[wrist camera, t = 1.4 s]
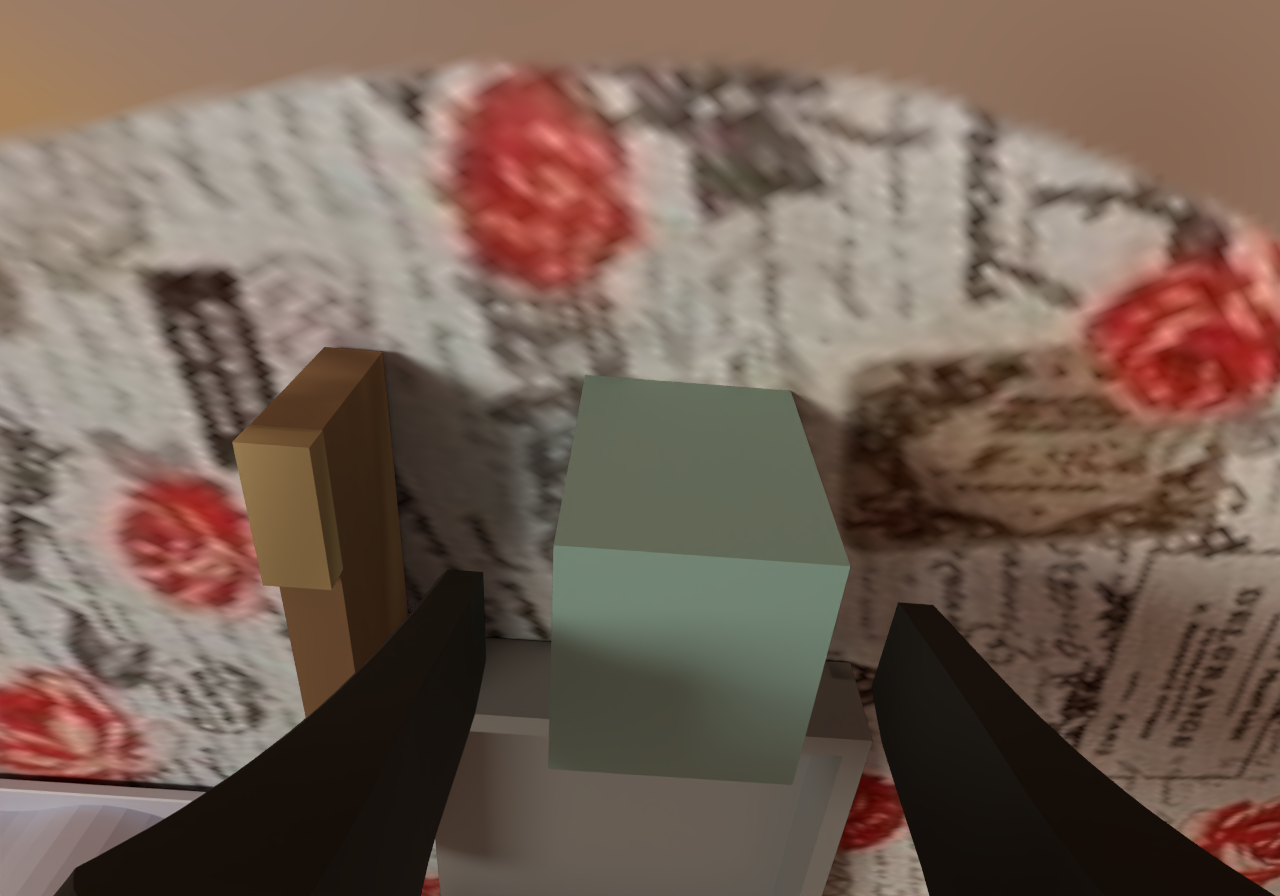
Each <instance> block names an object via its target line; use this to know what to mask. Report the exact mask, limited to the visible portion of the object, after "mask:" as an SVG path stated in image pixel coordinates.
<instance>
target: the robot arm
mask: <svg viewBox="0 0 1280 896" xmlns="http://www.w3.org/2000/svg"><path fill="white" fill-rule="evenodd" d="M485 662H486V640H485V611H484V581H483V572H473V571H459V570H447V571H446V572H444V573H443V574H442V575H441V576H440V577H439V579H438V580H437V581H436V582H435V584H434V585H433V586H432V588H431V589H430V590H429V591H428V593H427V594H426V595H425V596H424V598H423V599H422V600H421V601H420V602H419V604H418V605H417V606H416V607H415V608H414V610H413V611H412V612H411V613H410V614H409V615H408V617H407V618H406V619H405V620H404V621H403V622H402V624H401V625H400V626H399V627H398V628H397V629H396V630H395V631H394V632H393V634H392V635H391V636H390V637H389V638H388V639H387V640H386V641H385V642H384V643H383V644H382V646H381V647H380V648H379V649H378V650H377V651H376V652H375V653H374V654H373V655H372V656H371V657H370V658H369V659H368V660H367V661H366V662H365V663H364V664H363V665H362V666H361V667H360V668H359V669H358V670H357V671H356V672H355V673H354V674H353V675H352V676H351V677H350V678H349V679H348V680H347V681H346V682H345V683H344V684H343V685H342V686H341V687H340V688H339V689H338V690H337V691H336V692H335V693H334V694H333V695H331V696H330V697H329V698H328V699H327V700H326V701H325V702H324V703H323V704H322V705H320V706H319V707H318V708H317V709H316V710H315V711H314V712H312V713H311V714H310V715H309V716H308V717H307V718H305V719H304V720H303V721H302V722H301V723H299V724H298V725H297V726H296V727H295V728H293V729H292V730H291V731H290V732H289V733H287V734H286V735H285V736H284V737H282V738H281V739H280V740H278V741H277V742H276V743H274V744H273V745H272V746H271V747H269V748H268V749H267V750H265V751H264V752H263V753H261V754H260V755H259V756H257V757H256V758H255V759H254V760H252V761H251V762H250V763H248V764H247V765H245V766H244V767H243V768H241V769H240V770H238V771H237V772H236V773H234V774H233V775H231V776H230V777H228V778H227V779H226V780H224V781H222V782H221V783H219V784H218V785H216V786H215V787H213V788H212V789H210V790H209V791H207V792H200V791H185V790H169V789H154V788H138V787H123V786H108V785H92V784H77V783H61V782H46V781H31V780H15V779H0V896H421V892H422V888H423V884H424V879H425V875H426V870H427V866H428V862H429V858H430V855H431V851H432V847H433V844H434V840H435V837H436V833H437V830H438V827H439V824H440V821H441V818H442V815H443V812H444V809H445V806H446V803H447V800H448V797H449V794H450V791H451V787H452V784H453V781H454V778H455V775H456V772H457V769H458V766H459V763H460V760H461V757H462V754H463V751H464V747H465V744H466V741H467V738H468V735H469V732H470V729H471V726H472V722H473V719H474V716H475V712H476V708H477V703H478V698H479V693H480V688H481V683H482V678H483V673H484V668H485ZM872 691H873V697H874V703H875V709H876V715H877V720H878V725H879V730H880V736H881V741H882V745H883V748H884V751H885V754H886V758H887V761H888V764H889V767H890V770H891V774H892V777H893V780H894V783H895V786H896V790H897V793H898V796H899V799H900V802H901V805H902V808H903V811H904V814H905V817H906V821H907V824H908V827H909V830H910V833H911V836H912V839H913V842H914V845H915V848H916V852H917V855H918V858H919V861H920V864H921V867H922V871H923V874H924V878H925V881H926V885H927V889H928V892H929V896H1275V895H1273V894H1271V893H1270V892H1268V891H1267V890H1265V889H1264V888H1262V887H1261V886H1259V885H1257V884H1256V883H1254V882H1253V881H1251V880H1250V879H1248V878H1246V877H1245V876H1243V875H1242V874H1240V873H1239V872H1237V871H1235V870H1234V869H1232V868H1231V867H1229V866H1228V865H1226V864H1225V863H1223V862H1222V861H1220V860H1219V859H1217V858H1216V857H1214V856H1213V855H1211V854H1210V853H1208V852H1207V851H1205V850H1204V849H1202V848H1201V847H1199V846H1198V845H1197V844H1195V843H1194V842H1192V841H1191V840H1190V839H1188V838H1187V837H1185V836H1184V835H1183V834H1181V833H1180V832H1178V831H1177V830H1176V829H1174V828H1173V827H1172V826H1170V825H1169V824H1167V823H1166V822H1165V821H1163V820H1162V819H1161V818H1159V817H1158V816H1156V815H1155V814H1154V813H1152V812H1151V811H1150V810H1148V809H1147V808H1146V807H1144V806H1143V805H1142V804H1141V803H1139V802H1138V801H1137V800H1135V799H1134V798H1133V797H1131V796H1130V795H1129V794H1128V793H1126V792H1125V791H1124V790H1123V789H1122V788H1120V787H1119V786H1118V785H1117V784H1115V783H1114V782H1113V781H1112V780H1111V779H1109V778H1108V777H1107V776H1106V775H1105V774H1103V773H1102V772H1101V771H1100V770H1098V769H1097V768H1096V767H1095V766H1094V765H1092V764H1091V763H1090V762H1089V761H1088V760H1087V759H1085V758H1084V757H1083V756H1082V755H1081V754H1080V753H1079V752H1077V751H1076V750H1075V749H1074V748H1073V747H1072V746H1071V745H1070V744H1069V743H1067V742H1066V741H1065V740H1064V739H1063V738H1062V737H1061V736H1060V735H1059V734H1058V733H1057V732H1056V731H1055V730H1054V729H1052V728H1051V727H1050V726H1049V725H1048V724H1047V723H1046V722H1045V721H1044V720H1043V719H1042V718H1041V717H1040V716H1039V715H1038V714H1037V713H1036V712H1035V711H1034V710H1033V709H1031V708H1030V707H1029V706H1028V705H1027V704H1026V703H1025V702H1024V701H1023V700H1022V699H1021V698H1020V697H1019V696H1018V695H1017V694H1016V693H1015V692H1014V691H1013V689H1012V688H1011V687H1010V686H1009V685H1008V684H1007V683H1006V682H1005V681H1004V680H1003V679H1002V678H1001V677H1000V676H999V675H998V674H997V673H996V672H995V671H994V670H993V669H992V668H991V667H990V665H989V664H988V663H987V662H986V661H985V660H984V659H983V658H982V657H981V656H980V655H979V654H978V653H977V652H976V650H975V649H974V648H973V647H972V646H971V645H970V644H969V643H968V642H967V641H966V640H965V639H964V637H963V636H962V635H961V634H960V633H959V632H958V631H957V630H956V629H955V628H954V627H953V626H952V624H951V623H950V622H949V621H948V620H947V619H946V618H945V617H944V616H943V615H942V614H941V613H940V612H939V611H938V610H937V609H936V608H935V607H934V606H933V605H925V604H911V603H898V605H897V608H896V611H895V614H894V617H893V621H892V624H891V627H890V630H889V633H888V636H887V640H886V643H885V646H884V649H883V652H882V656H881V659H880V662H879V665H878V668H877V671H876V675H875V678H874V681H873V684H872Z"/></svg>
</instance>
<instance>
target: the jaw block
mask: <svg viewBox="0 0 1280 896" xmlns="http://www.w3.org/2000/svg"><path fill="white" fill-rule="evenodd" d="M849 570H850V564H849V561H848V558H847V555H846V552H845V549H844V546H843V543H842V540H841V537H840V534H839V531H838V528H837V525H836V523H835V520H834V517H833V514H832V511H831V508H830V505H829V502H828V499H827V496H826V493H825V490H824V487H823V484H822V482H821V479H820V476H819V473H818V470H817V467H816V464H815V461H814V458H813V455H812V452H811V449H810V446H809V443H808V441H807V438H806V435H805V432H804V429H803V426H802V423H801V420H800V417H799V414H798V411H797V408H796V405H795V402H794V400H793V397H792V394H791V391H787V390H774V389H761V388H748V387H735V386H722V385H709V384H696V383H683V382H670V381H657V380H644V379H631V378H618V377H605V376H592V375H585V380H584V385H583V391H582V396H581V401H580V407H579V412H578V417H577V423H576V428H575V433H574V439H573V444H572V450H571V455H570V460H569V466H568V471H567V476H566V482H565V487H564V492H563V498H562V503H561V508H560V514H559V519H558V524H557V530H556V535H555V540H554V549H553V590H552V630H551V671H550V712H549V752H548V769H553V770H568V771H584V772H599V773H614V774H630V775H645V776H661V777H676V778H692V779H707V780H723V781H738V782H753V783H769V784H784V785H792V784H793V781H794V777H795V773H796V769H797V766H798V762H799V758H800V754H801V751H802V747H803V743H804V739H805V735H806V732H807V728H808V724H809V720H810V717H811V713H812V709H813V705H814V702H815V698H816V694H817V690H818V687H819V683H820V679H821V675H822V672H823V668H824V664H825V660H826V657H827V653H828V649H829V645H830V642H831V638H832V634H833V630H834V626H835V623H836V619H837V615H838V611H839V608H840V604H841V600H842V596H843V593H844V589H845V585H846V581H847V578H848V574H849Z"/></svg>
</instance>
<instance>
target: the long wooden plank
mask: <svg viewBox="0 0 1280 896" xmlns="http://www.w3.org/2000/svg"><path fill="white" fill-rule="evenodd" d="M232 443H233V447H234V452H235V457H236V461H237V466H238V471H239V475H240V480H241V485H242V489H243V494H244V499H245V503H246V508H247V513H248V517H249V522H250V527H251V531H252V536H253V541H254V545H255V550H256V555H257V559H258V564H259V569H260V573H261V578H262V583H263V585H266V586H280V591H281V596H282V601H283V606H284V611H285V616H286V621H287V626H288V631H289V636H290V641H291V646H292V651H293V656H294V661H295V666H296V671H297V676H298V681H299V686H300V691H301V696H302V701H303V706H304V711H305V716H306V718H307V717H308V716H309V715H310V714H311V713H312V712H314V711H315V710H316V709H317V708H318V707H319V706H320V705H322V704H323V703H324V702H325V701H326V700H327V699H328V698H329V697H330V696H331V695H333V694H334V693H335V692H336V691H337V690H338V689H339V688H340V687H341V686H342V685H343V684H344V683H345V682H346V681H347V680H348V679H349V678H350V677H351V676H352V675H353V674H354V673H355V672H356V671H357V670H358V669H359V668H360V667H361V666H362V665H363V664H364V663H365V662H366V661H367V660H368V659H369V658H370V657H371V656H372V655H373V654H374V653H375V652H376V651H377V650H378V649H379V648H380V647H381V646H382V644H383V643H384V642H385V641H386V640H387V639H388V638H389V637H390V636H391V635H392V634H393V632H394V631H395V630H396V629H397V628H398V627H399V626H400V625H401V624H402V622H403V621H404V620H405V619H406V618H407V617H408V607H407V596H406V586H405V576H404V566H403V555H402V545H401V535H400V524H399V514H398V504H397V494H396V483H395V473H394V463H393V453H392V442H391V432H390V422H389V411H388V401H387V391H386V381H385V370H384V360H383V352H382V351H369V350H356V349H343V348H330V347H324V348H323V349H322V350H321V351H320V352H319V353H318V354H317V355H316V357H315V358H314V359H313V360H312V361H311V362H310V363H309V364H308V365H307V366H306V367H305V368H304V369H303V370H302V371H301V372H300V373H299V374H298V375H297V376H296V377H295V379H294V380H293V381H292V382H291V383H290V384H289V385H288V386H287V387H286V388H285V389H284V390H283V391H282V392H281V393H280V394H279V395H278V396H277V397H276V398H275V399H274V401H273V402H272V403H271V404H270V405H269V406H268V407H267V408H266V409H265V410H264V411H263V412H262V413H261V414H260V415H259V416H258V417H257V418H256V419H255V420H254V421H253V423H252V424H251V425H248V426H247V427H246V428H245V430H244V431H243V432H242V433H241V434H240V435H239V436H238V437H237V438H236V439H235V440H234V441H233V442H232Z"/></svg>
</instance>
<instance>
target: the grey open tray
mask: <svg viewBox="0 0 1280 896" xmlns="http://www.w3.org/2000/svg"><path fill="white" fill-rule="evenodd" d="M485 640H486V662H485V668H484V673H483V678H482V683H481V688H480V693H479V698H478V703H477V708H476V712H475V716H474V719H473V722H472V726H471V729H470V732H469V735H468V738H467V741H466V744H465V747H464V751H463V754H462V757H461V760H460V763H459V766H458V769H457V772H456V775H455V778H454V781H453V784H452V787H451V791H450V794H449V797H448V800H447V803H446V806H445V809H444V812H443V815H442V818H441V821H440V824H439V827H438V830H437V833H436V837H435V840H436V851H437V862H438V872H439V883H440V894H441V896H822V894H823V891H824V888H825V885H826V882H827V879H828V876H829V873H830V870H831V866H832V863H833V860H834V857H835V854H836V851H837V848H838V845H839V842H840V839H841V836H842V833H843V830H844V827H845V824H846V821H847V818H848V815H849V812H850V809H851V806H852V803H853V800H854V797H855V794H856V791H857V788H858V785H859V782H860V778H861V775H862V772H863V769H864V766H865V763H866V760H867V757H868V754H869V751H870V748H871V745H872V742H873V740H872V736H871V733H870V729H869V726H868V722H867V719H866V715H865V712H864V709H863V705H862V702H861V698H860V695H859V691H858V688H857V684H856V681H855V677H854V674H853V671H852V667H851V664H850V663H846V662H831V661H825V664H824V668H823V672H822V675H821V679H820V683H819V687H818V690H817V694H816V698H815V702H814V705H813V709H812V713H811V717H810V720H809V724H808V728H807V732H806V735H805V739H804V743H803V747H802V751H801V754H800V758H799V762H798V766H797V769H796V773H795V777H794V781H793V784H792V785H784V784H769V783H753V782H738V781H723V780H707V779H692V778H676V777H661V776H645V775H630V774H614V773H599V772H584V771H568V770H553V769H548V752H549V712H550V671H551V642H543V641H528V640H514V639H499V638H485Z"/></svg>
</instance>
